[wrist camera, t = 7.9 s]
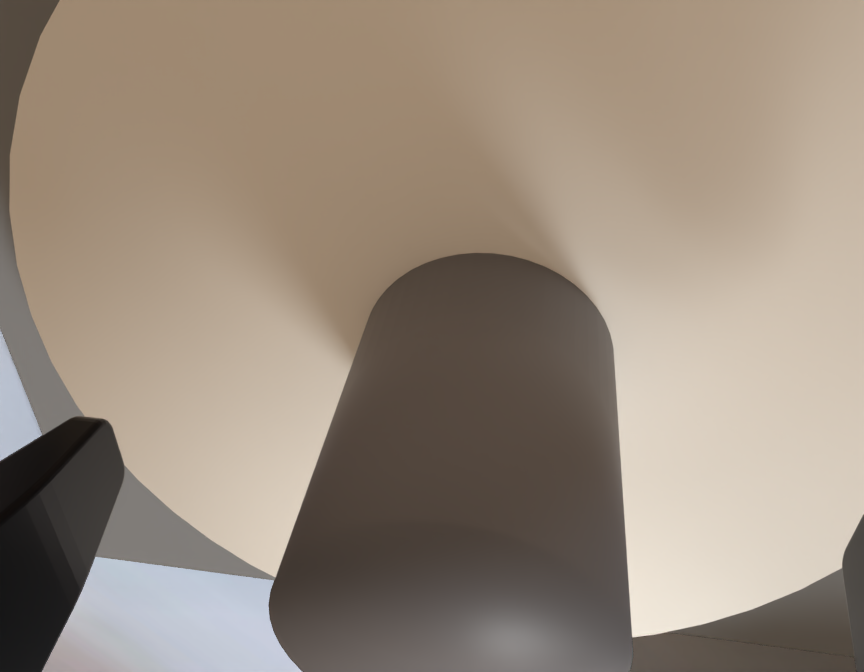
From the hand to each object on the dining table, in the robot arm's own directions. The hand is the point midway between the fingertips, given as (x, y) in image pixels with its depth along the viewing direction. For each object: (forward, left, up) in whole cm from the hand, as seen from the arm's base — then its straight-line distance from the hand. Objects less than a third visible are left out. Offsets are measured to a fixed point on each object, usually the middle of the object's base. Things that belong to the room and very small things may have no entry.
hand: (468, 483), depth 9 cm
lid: (0, 0, -3) cm, 3 cm away
